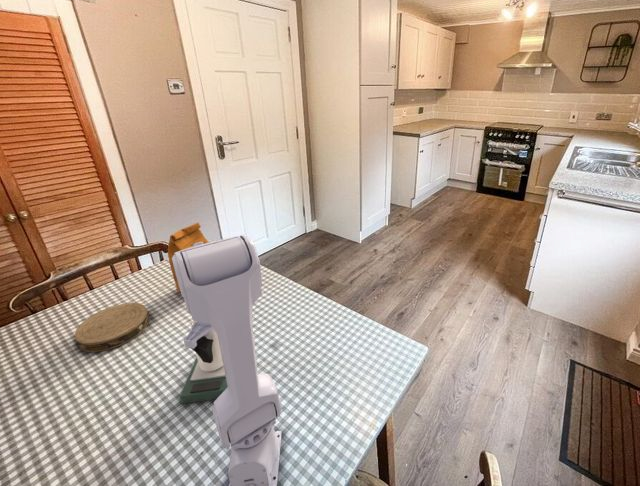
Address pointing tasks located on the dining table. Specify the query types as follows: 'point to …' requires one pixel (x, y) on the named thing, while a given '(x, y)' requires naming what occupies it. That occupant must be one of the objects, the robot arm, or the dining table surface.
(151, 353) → the dining table surface
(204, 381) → the scale
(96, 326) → the tan flat round disc
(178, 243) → the coffee package
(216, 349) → the can
